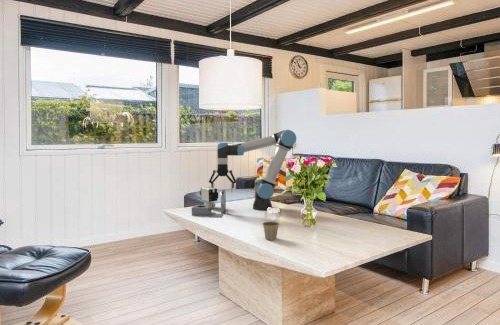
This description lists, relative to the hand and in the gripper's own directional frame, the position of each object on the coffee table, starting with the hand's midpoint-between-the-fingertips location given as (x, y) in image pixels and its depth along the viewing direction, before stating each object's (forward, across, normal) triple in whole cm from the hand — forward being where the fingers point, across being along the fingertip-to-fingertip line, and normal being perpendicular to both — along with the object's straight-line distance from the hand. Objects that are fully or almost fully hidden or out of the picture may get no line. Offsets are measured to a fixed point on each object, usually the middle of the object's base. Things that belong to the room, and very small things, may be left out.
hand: (222, 192), depth 268 cm
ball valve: (+16, +14, -19) cm, 28 cm away
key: (+16, 0, 0) cm, 16 cm away
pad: (+16, +4, +8) cm, 18 cm away
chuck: (+16, +16, +2) cm, 22 cm away
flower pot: (+16, -38, +64) cm, 76 cm away
